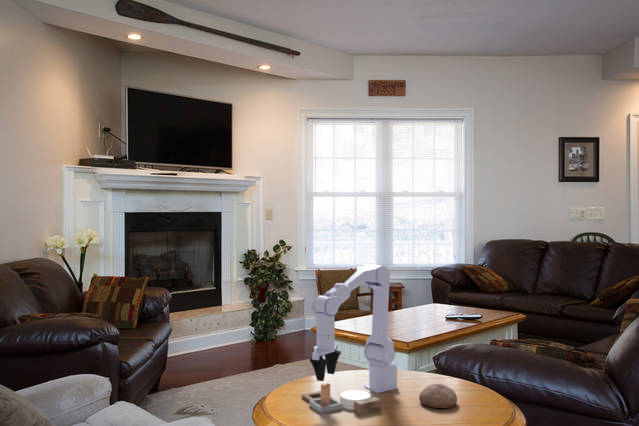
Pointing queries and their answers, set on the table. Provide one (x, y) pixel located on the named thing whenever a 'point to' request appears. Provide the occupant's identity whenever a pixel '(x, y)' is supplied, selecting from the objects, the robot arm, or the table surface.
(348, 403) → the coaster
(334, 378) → the table surface
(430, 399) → the decorative stone
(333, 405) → the tray
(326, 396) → the dowel
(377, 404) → the brown rectangular block
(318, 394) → the collar
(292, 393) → the table surface
